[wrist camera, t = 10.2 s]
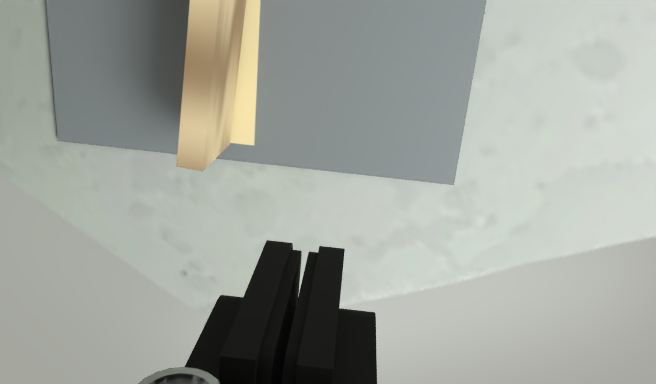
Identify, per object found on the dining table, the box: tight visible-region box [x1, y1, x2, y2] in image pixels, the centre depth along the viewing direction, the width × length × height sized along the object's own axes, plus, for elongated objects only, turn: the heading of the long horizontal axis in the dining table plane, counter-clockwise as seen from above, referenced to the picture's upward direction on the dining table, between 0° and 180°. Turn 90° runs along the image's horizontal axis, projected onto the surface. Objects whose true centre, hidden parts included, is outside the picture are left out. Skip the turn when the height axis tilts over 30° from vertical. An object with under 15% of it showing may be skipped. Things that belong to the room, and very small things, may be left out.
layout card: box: [46, 0, 486, 185], centre depth 28 cm, size 22×14×1 cm, turn 85°
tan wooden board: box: [177, 0, 246, 171], centre depth 25 cm, size 12×2×5 cm, turn 170°
